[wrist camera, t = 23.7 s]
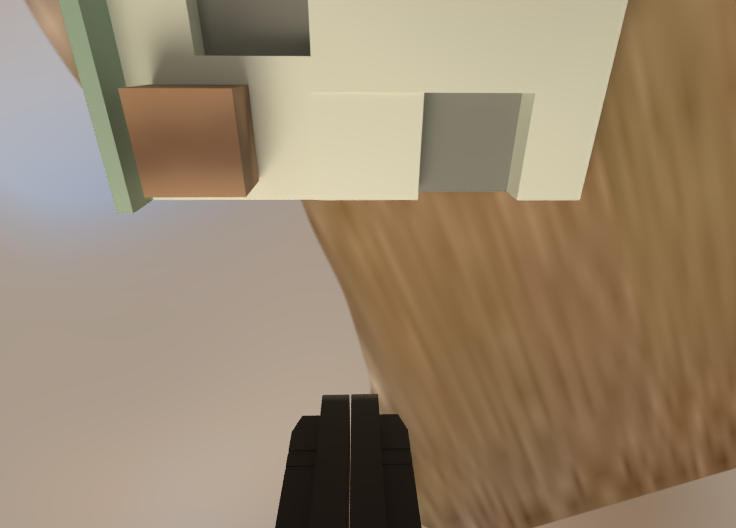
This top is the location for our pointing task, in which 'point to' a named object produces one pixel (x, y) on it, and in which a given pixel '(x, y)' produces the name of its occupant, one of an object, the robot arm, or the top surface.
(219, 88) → the walnut block
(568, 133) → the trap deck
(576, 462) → the top surface
